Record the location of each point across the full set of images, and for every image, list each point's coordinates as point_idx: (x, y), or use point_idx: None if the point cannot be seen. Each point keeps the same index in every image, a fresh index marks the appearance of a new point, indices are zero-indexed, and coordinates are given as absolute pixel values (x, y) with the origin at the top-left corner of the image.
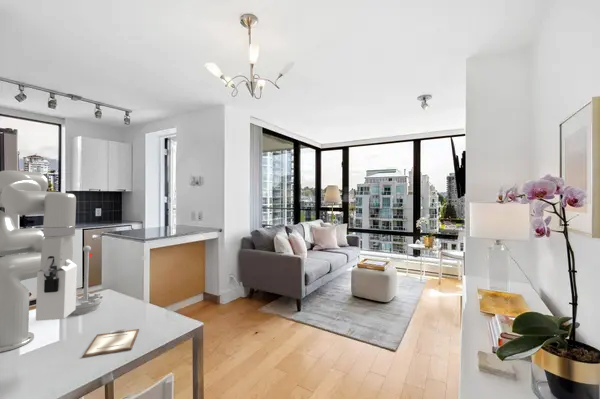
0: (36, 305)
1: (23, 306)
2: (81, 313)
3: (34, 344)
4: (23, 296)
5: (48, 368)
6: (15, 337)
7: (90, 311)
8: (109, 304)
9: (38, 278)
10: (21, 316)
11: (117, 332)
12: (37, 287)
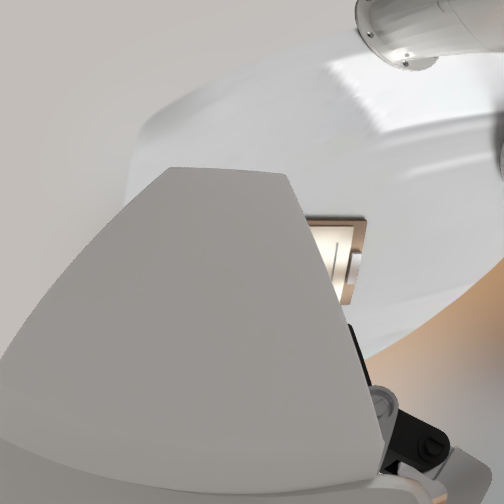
0: (140, 193)
1: (457, 38)
2: (500, 154)
3: (378, 79)
4: (484, 34)
5: (221, 160)
6: (388, 36)
7: (501, 173)
8: None
9: (34, 323)
10: (431, 37)
11: (349, 268)
12: (81, 256)
